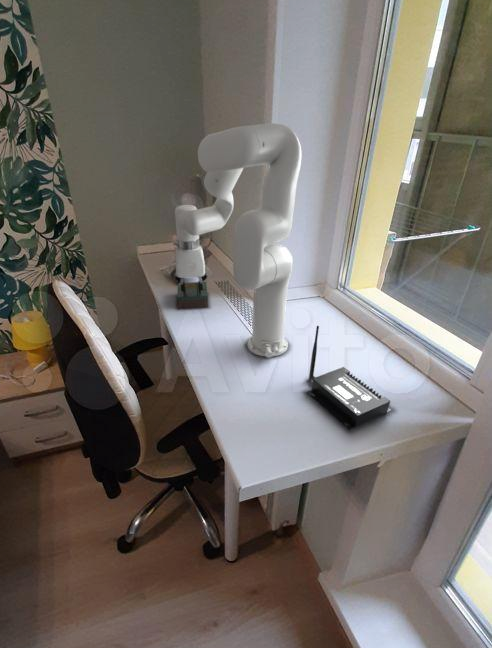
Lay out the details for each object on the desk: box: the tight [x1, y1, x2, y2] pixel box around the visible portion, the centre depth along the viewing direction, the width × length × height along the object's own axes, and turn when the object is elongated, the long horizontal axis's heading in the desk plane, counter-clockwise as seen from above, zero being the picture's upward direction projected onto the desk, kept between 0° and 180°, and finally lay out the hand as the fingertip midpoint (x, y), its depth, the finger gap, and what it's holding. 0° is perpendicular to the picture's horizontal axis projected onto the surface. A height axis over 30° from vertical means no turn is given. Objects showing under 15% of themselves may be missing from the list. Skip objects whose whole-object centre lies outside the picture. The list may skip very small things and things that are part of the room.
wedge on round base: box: [171, 266, 199, 283], centre depth 163 cm, size 9×7×13 cm
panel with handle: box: [176, 281, 209, 301], centre depth 143 cm, size 13×11×6 cm
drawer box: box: [177, 298, 209, 310], centre depth 146 cm, size 13×11×4 cm
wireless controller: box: [306, 325, 392, 431], centre depth 94 cm, size 20×14×17 cm
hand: (192, 292), depth 140 cm, fingers closed on panel with handle, 5 cm apart
